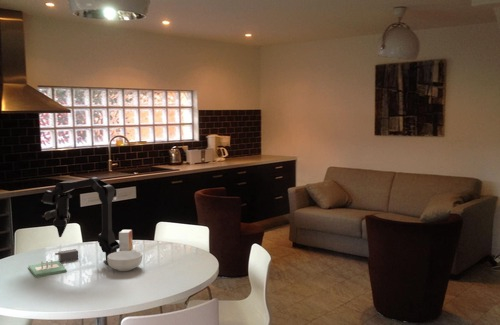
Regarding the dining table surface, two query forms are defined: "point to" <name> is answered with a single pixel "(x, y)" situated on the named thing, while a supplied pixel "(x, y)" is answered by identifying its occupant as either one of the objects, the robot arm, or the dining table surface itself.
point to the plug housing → (67, 255)
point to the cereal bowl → (124, 260)
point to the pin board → (47, 268)
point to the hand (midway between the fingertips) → (61, 234)
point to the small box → (125, 240)
